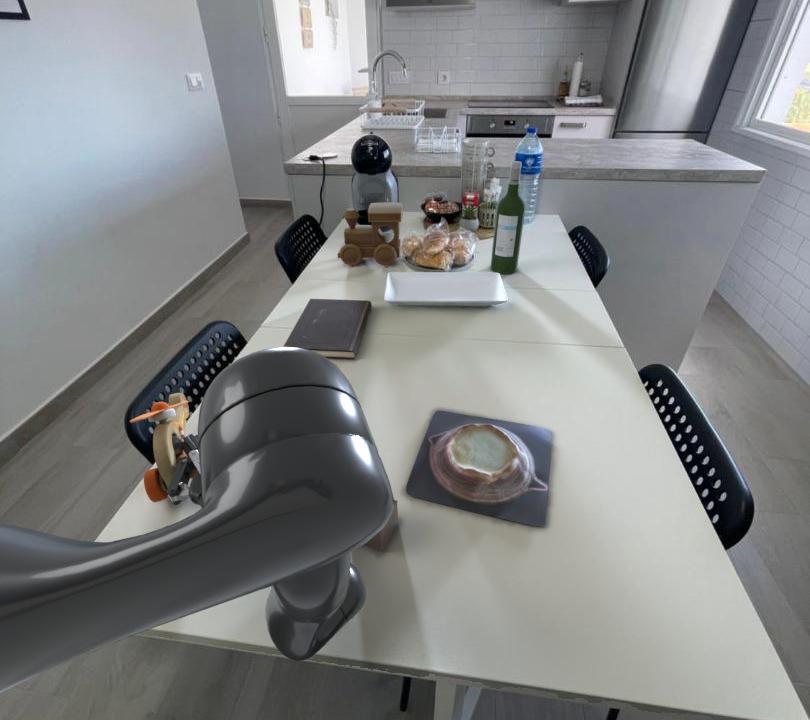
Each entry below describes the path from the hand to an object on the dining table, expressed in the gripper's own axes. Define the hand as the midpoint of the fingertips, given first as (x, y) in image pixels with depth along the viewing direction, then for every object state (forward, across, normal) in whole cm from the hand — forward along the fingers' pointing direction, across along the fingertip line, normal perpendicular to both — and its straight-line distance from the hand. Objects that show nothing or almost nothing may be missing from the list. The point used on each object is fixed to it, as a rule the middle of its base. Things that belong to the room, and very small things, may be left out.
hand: (188, 439), depth 68 cm
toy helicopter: (+3, +1, +7) cm, 8 cm away
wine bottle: (+12, -98, +8) cm, 100 cm away
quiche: (-30, -34, +7) cm, 46 cm away
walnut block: (-28, -13, +7) cm, 31 cm away
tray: (+13, -72, +8) cm, 74 cm away
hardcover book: (+20, -41, +8) cm, 46 cm away
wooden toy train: (+46, -75, +8) cm, 88 cm away
